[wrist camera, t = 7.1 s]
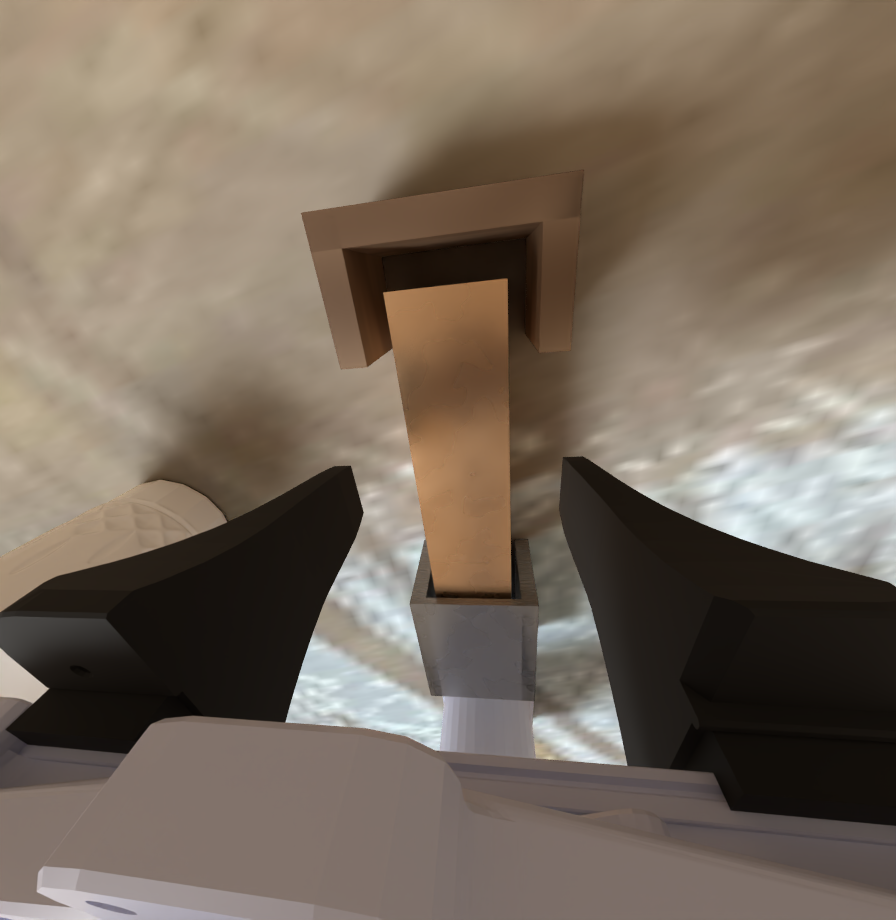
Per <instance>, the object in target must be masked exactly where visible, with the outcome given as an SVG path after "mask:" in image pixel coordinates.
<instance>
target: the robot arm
mask: <svg viewBox="0 0 896 920" xmlns="http://www.w3.org/2000/svg"><path fill="white" fill-rule="evenodd" d="M559 511H560V516H561V520H562V525H563V529H564V534H565V537H566V540H567V542H568V545H569V548H570V551H571V553H572V556H573V559H574V561H575V564H576V567H577V569H578V572H579V575H580V577H581V580H582V583H583V585H584V588H585V591H586V593H587V596H588V599H589V602H590V605H591V608H592V612H593V616H594V620H595V624H596V628H597V631H598V635H599V639H600V643H601V647H602V652H603V656H604V660H605V664H606V668H607V672H608V676H609V681H610V685H611V690H612V694H613V699H614V703H615V708H616V712H617V717H618V721H619V726H620V731H621V736H622V741H623V745H624V750H625V755H626V760H627V765H628V766H622V765H610V764H597V763H585V762H572V761H560V760H547V759H536V755H535V746H534V736H533V727H532V724H533V703H534V701H519V700H502V699H484V698H467V697H449V696H443V701H444V711H443V721H442V731H441V742H440V751H435V750H433V749H431V748H429V747H427V746H425V745H423V744H421V743H419V742H416V741H414V740H412V739H410V738H408V737H406V736H401V735H396V734H391V733H386V732H381V731H376V730H371V729H366V728H353V727H339V726H326V725H312V724H298V723H285V721H286V718H287V714H288V710H289V706H290V703H291V699H292V696H293V693H294V689H295V686H296V683H297V680H298V676H299V673H300V670H301V666H302V663H303V660H304V657H305V654H306V651H307V648H308V645H309V642H310V639H311V637H312V634H313V631H314V628H315V625H316V623H317V620H318V617H319V615H320V612H321V609H322V607H323V604H324V602H325V599H326V597H327V595H328V593H329V591H330V589H331V587H332V585H333V583H334V581H335V579H336V577H337V574H338V572H339V570H340V568H341V567H342V565H343V563H344V561H345V559H346V557H347V554H348V552H349V550H350V548H351V546H352V544H353V542H354V540H355V538H356V535H357V532H358V529H359V527H360V523H361V520H362V517H363V513H364V512H363V508H362V505H361V501H360V498H359V494H358V490H357V487H356V483H355V479H354V476H353V472H352V468H351V466H334V467H332V468H329V469H327V470H325V471H323V472H321V473H320V474H318V475H316V476H314V477H312V478H311V479H309V480H307V481H305V482H304V483H302V484H300V485H298V486H297V487H295V488H293V489H291V490H290V491H288V492H286V493H284V494H283V495H281V496H279V497H277V498H275V499H273V500H271V501H269V502H268V503H266V504H264V505H262V506H260V507H258V508H256V509H254V510H252V511H250V512H248V513H246V514H244V515H242V516H240V517H238V518H236V519H233V520H231V521H229V522H227V523H224V524H222V525H220V526H217V527H215V528H212V529H210V530H207V531H205V532H202V533H199V534H197V535H194V536H191V537H189V538H186V539H184V540H181V541H178V542H175V543H173V544H170V545H167V546H164V547H161V548H157V549H154V550H151V551H148V552H145V553H141V554H138V555H135V556H132V557H128V558H125V559H121V560H118V561H114V562H110V563H106V564H102V565H99V566H95V567H91V568H87V569H83V570H79V571H75V572H71V573H67V574H63V575H59V576H56V577H54V578H52V579H50V580H48V581H46V582H44V583H42V584H41V585H39V586H38V587H36V588H35V589H33V590H32V591H30V592H29V593H27V594H26V595H25V596H23V597H22V598H20V599H19V600H17V601H16V602H14V603H13V604H11V605H10V606H8V607H7V608H5V609H4V610H3V611H1V612H0V648H1V649H2V650H3V651H4V652H5V653H6V654H7V655H8V656H9V657H11V658H12V659H13V660H14V661H15V662H17V663H18V664H19V665H20V666H21V667H23V668H24V669H25V670H26V671H28V672H29V673H30V674H31V675H32V676H34V677H35V678H36V679H37V680H38V681H40V682H41V683H42V684H43V685H45V686H46V687H47V688H49V689H48V690H47V691H46V692H45V693H44V694H43V695H42V696H41V697H40V698H39V699H37V700H36V701H35V702H34V703H31V702H28V701H26V700H23V699H19V698H12V697H0V920H896V587H895V586H894V585H892V584H891V583H889V582H885V581H882V580H878V579H874V578H870V577H867V576H863V575H859V574H855V573H851V572H848V571H844V570H840V569H836V568H833V567H829V566H825V565H821V564H818V563H814V562H810V561H807V560H803V559H800V558H797V557H794V556H791V555H787V554H784V553H781V552H778V551H775V550H772V549H768V548H765V547H762V546H759V545H756V544H754V543H751V542H748V541H745V540H742V539H739V538H737V537H734V536H732V535H729V534H726V533H724V532H721V531H719V530H716V529H713V528H711V527H708V526H706V525H704V524H701V523H699V522H697V521H694V520H692V519H690V518H688V517H686V516H684V515H681V514H679V513H677V512H675V511H673V510H671V509H669V508H667V507H665V506H663V505H661V504H659V503H657V502H655V501H653V500H652V499H650V498H648V497H646V496H645V495H643V494H641V493H639V492H638V491H636V490H634V489H633V488H631V487H629V486H628V485H626V484H625V483H623V482H621V481H620V480H618V479H617V478H615V477H614V476H612V475H611V474H609V473H608V472H606V471H605V470H603V469H602V468H600V467H599V466H597V465H596V464H594V463H593V462H591V461H590V460H588V459H586V458H585V457H583V456H582V457H563V462H562V476H561V490H560V503H559Z"/></svg>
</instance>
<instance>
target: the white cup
mask: <svg viewBox="0 0 896 920" xmlns="http://www.w3.org/2000/svg"><path fill="white" fill-rule="evenodd" d="M224 523H227V521H226V519H225V517H224V515H223V513H222V512H221V511H220V510H219V509H218V508H217V507H216V506H215V505H214V504H213V503H212V502H211V501H210V500H209V499H208V498H207V497H206V496H204V495H202V494H201V493H199V492H197V491H195V490H193V489H191V488H190V487H188V486H186V485H184V484H180V483H175V482H170V481H165V480H156V481H152V482H148V483H143V484H140V485H138V486H136V487H135V488H133V489H131V490H129V491H127V492H126V493H124V494H122V495H120V496H118V497H116V498H115V499H113V500H111V501H109V502H108V503H105V504H102V505H100V506H97V507H95V508H93V509H91V510H89V511H87V512H85V513H83V514H81V515H79V516H78V517H76V518H74V519H73V520H71V521H68V522H66V523H64V524H62V525H60V526H57V527H55V528H53V529H51V530H50V531H48V532H46V533H44V534H42V535H40V536H38V537H36V538H34V539H33V540H31V541H29V542H27V543H25V544H23V545H21V546H19V547H18V548H16V549H14V550H12V551H10V552H8V553H6V554H5V555H3V556H1V557H0V612H1V611H3V610H4V609H5V608H7V607H8V606H10V605H11V604H13V603H14V602H16V601H17V600H19V599H20V598H22V597H23V596H25V595H26V594H27V593H29V592H30V591H32V590H33V589H35V588H36V587H38V586H39V585H41V584H42V583H44V582H46V581H48V580H50V579H52V578H54V577H56V576H59V575H63V574H67V573H71V572H75V571H79V570H83V569H87V568H91V567H95V566H99V565H102V564H106V563H110V562H114V561H118V560H121V559H125V558H128V557H132V556H135V555H138V554H141V553H145V552H148V551H151V550H154V549H157V548H161V547H164V546H167V545H170V544H173V543H175V542H178V541H181V540H184V539H186V538H189V537H191V536H194V535H197V534H199V533H202V532H205V531H207V530H210V529H212V528H215V527H217V526H220V525H222V524H224ZM48 689H49V688H47V687H46V686H45V685H43V684H42V683H41V682H40V681H38V680H37V679H36V678H35V677H34V676H32V675H31V674H30V673H29V672H28V671H26V670H25V669H24V668H23V667H21V666H20V665H19V664H18V663H17V662H15V661H14V660H13V659H12V658H11V657H9V656H8V655H7V654H6V653H5V652H4V651H3V650H2V649H1V648H0V697H12V698H19V699H23V700H26V701H28V702H31V703H34V702H35V701H36V700H37V699H39V698H40V697H41V696H42V695H43V694H44V693H45V692H46V691H47V690H48Z"/></svg>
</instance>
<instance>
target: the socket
mask: <svg viewBox="0 0 896 920" xmlns="http://www.w3.org/2000/svg"><path fill="white" fill-rule="evenodd" d="M583 176H584V170H579V171H572V172H565V173H559V174H552V175H546V176H539V177H533V178H526V179H520V180H513V181H506V182H500V183H493V184H487V185H480V186H474V187H467V188H461V189H454V190H448V191H441V192H434V193H428V194H421V195H415V196H408V197H402V198H395V199H389V200H382V201H375V202H369V203H362V204H356V205H349V206H343V207H336V208H330V209H323V210H317V211H310V212H303V213H301V214H302V218H303V222H304V226H305V230H306V234H307V238H308V242H309V246H310V250H311V254H312V258H313V262H314V266H315V270H316V274H317V278H318V282H319V285H320V289H321V293H322V297H323V301H324V305H325V309H326V313H327V317H328V321H329V325H330V329H331V333H332V337H333V341H334V345H335V349H336V353H337V356H338V360H339V364H340V368H341V369H351V368H363V367H368V366H369V365H371V364H372V363H373V362H375V361H376V360H377V359H379V358H380V357H381V356H383V355H384V354H385V353H387V352H388V351H389V350H391V349H392V348H393V346H392V340H391V335H390V329H389V323H388V317H387V312H386V306H385V300H384V294H383V292H387V288H386V282H385V276H384V270H383V264H382V258H381V257H384V256H392V255H399V254H407V253H415V252H423V251H430V250H438V249H446V248H454V247H462V246H469V245H477V244H485V243H493V242H500V241H508V240H516V239H524V238H526V306H525V334H526V336H527V337H528V338H529V340H530V341H531V342H532V344H533V345H534V346H535V348H536V349H537V351H538V352H539V353H546V352H558V351H570V350H571V337H572V323H573V310H574V296H575V283H576V269H577V256H578V243H579V229H580V216H581V202H582V189H583Z"/></svg>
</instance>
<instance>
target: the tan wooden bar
mask: <svg viewBox="0 0 896 920" xmlns="http://www.w3.org/2000/svg"><path fill="white" fill-rule="evenodd" d="M383 294H384V300H385V306H386V312H387V317H388V323H389V329H390V335H391V340H392V346H393V352H394V358H395V363H396V369H397V375H398V381H399V387H400V392H401V398H402V404H403V410H404V415H405V421H406V427H407V433H408V438H409V444H410V450H411V456H412V462H413V467H414V473H415V479H416V485H417V490H418V496H419V502H420V508H421V513H422V519H423V525H424V531H425V537H426V542H427V548H428V554H429V560H430V565H431V571H432V577H433V583H434V588H435V594H436V598H478V599H511V520H510V438H509V357H508V278H501V279H493V280H484V281H475V282H466V283H457V284H449V285H440V286H431V287H422V288H413V289H405V290H398V291H390V292H383Z"/></svg>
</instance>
